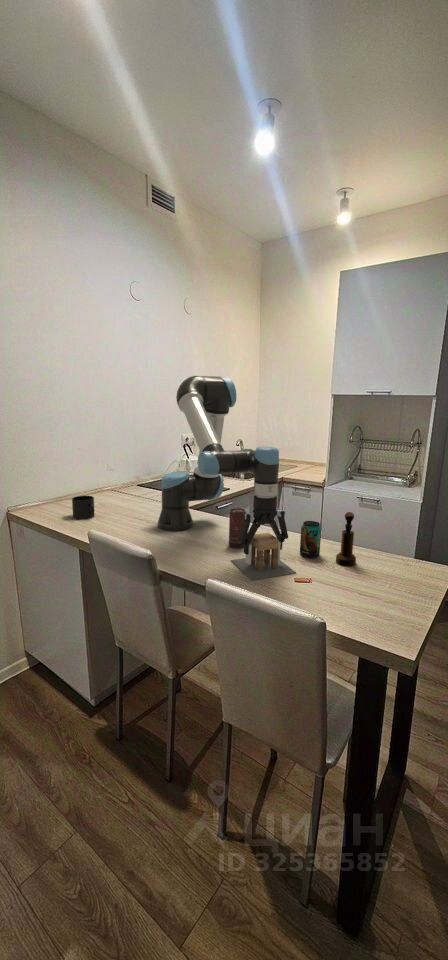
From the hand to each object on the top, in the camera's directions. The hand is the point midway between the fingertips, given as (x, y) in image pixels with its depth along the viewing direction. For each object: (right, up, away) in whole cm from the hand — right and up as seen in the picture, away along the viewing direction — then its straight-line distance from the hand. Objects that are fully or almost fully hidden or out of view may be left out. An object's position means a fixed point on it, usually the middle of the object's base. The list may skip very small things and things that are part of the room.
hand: (262, 561), depth 131 cm
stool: (0, -2, 0) cm, 2 cm away
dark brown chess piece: (+29, -2, +6) cm, 30 cm away
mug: (-77, +9, +52) cm, 93 cm away
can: (-8, +2, +20) cm, 21 cm away
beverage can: (+18, 0, +12) cm, 21 cm away
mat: (0, -2, 0) cm, 2 cm away
